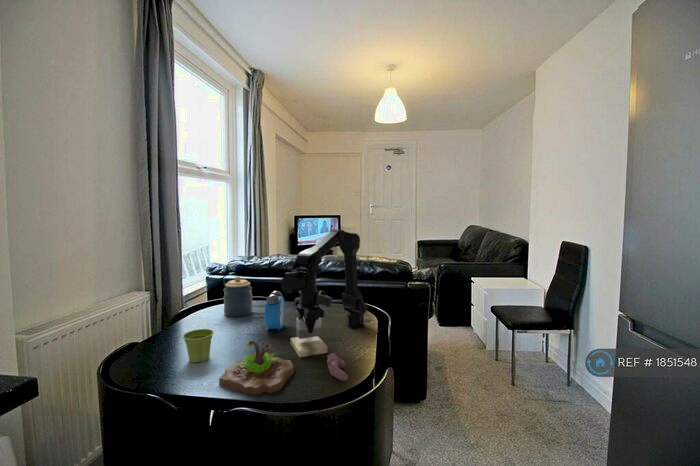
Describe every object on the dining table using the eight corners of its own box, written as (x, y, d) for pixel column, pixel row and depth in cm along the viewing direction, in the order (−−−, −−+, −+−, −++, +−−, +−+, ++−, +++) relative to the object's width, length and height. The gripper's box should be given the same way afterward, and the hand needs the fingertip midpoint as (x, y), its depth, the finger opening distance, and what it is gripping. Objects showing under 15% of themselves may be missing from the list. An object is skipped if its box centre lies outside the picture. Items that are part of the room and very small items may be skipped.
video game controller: (333, 371, 112) (323, 352, 111) (346, 364, 112) (336, 346, 112) (335, 387, 102) (324, 367, 102) (349, 380, 103) (338, 359, 102)
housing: (295, 334, 127) (295, 316, 127) (317, 331, 130) (317, 313, 130) (299, 339, 123) (299, 320, 122) (321, 335, 126) (321, 317, 125)
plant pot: (195, 368, 111) (194, 341, 110) (177, 361, 116) (176, 335, 115) (220, 357, 119) (219, 332, 118) (202, 351, 124) (201, 327, 123)
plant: (246, 360, 118) (245, 327, 117) (301, 366, 113) (300, 332, 112) (208, 390, 99) (207, 351, 98) (272, 399, 94) (271, 358, 93)
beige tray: (316, 339, 135) (316, 333, 135) (327, 352, 123) (327, 346, 123) (290, 343, 131) (290, 337, 131) (299, 357, 119) (299, 350, 119)
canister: (258, 312, 169) (257, 275, 168) (236, 319, 158) (235, 280, 157) (240, 307, 176) (239, 272, 175) (217, 314, 165) (216, 277, 164)
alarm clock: (279, 333, 141) (279, 296, 139) (264, 334, 141) (263, 296, 139) (285, 322, 154) (284, 288, 152) (271, 323, 154) (270, 288, 152)
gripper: (338, 291, 120) (339, 336, 121) (321, 280, 137) (321, 319, 138) (306, 294, 115) (307, 341, 117) (293, 283, 133) (293, 323, 134)
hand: (308, 330), depth 126 cm, fingers closed on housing, 5 cm apart
